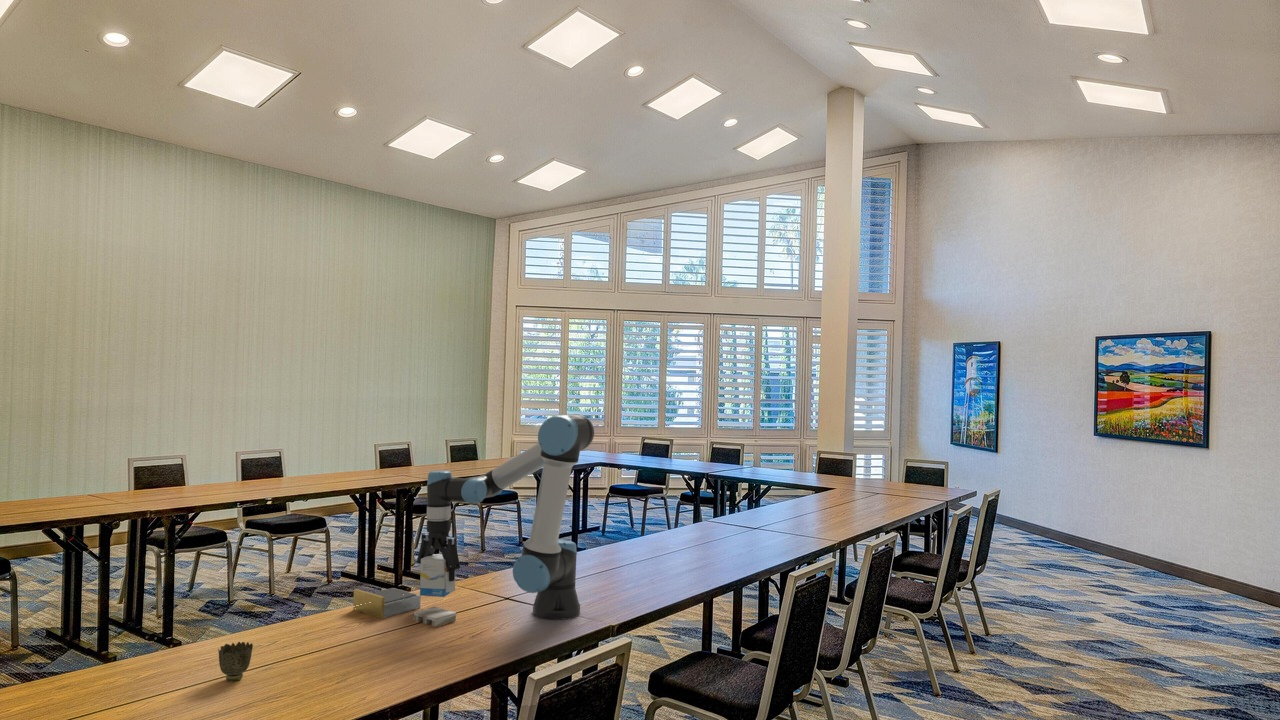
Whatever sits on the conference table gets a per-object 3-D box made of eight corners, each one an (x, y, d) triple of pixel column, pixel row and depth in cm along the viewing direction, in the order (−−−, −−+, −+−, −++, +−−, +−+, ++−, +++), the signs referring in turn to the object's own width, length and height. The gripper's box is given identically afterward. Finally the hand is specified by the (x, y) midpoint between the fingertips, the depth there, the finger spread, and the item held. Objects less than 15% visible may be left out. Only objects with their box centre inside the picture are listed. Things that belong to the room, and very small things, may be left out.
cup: (225, 673, 190) (226, 641, 190) (256, 673, 191) (257, 641, 191) (211, 685, 183) (212, 651, 183) (243, 685, 183) (245, 651, 184)
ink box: (443, 597, 243) (444, 559, 243) (419, 595, 245) (419, 558, 245) (456, 590, 251) (456, 554, 252) (432, 589, 253) (432, 553, 254)
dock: (420, 607, 249) (421, 587, 250) (381, 618, 237) (381, 597, 237) (392, 599, 257) (393, 580, 257) (353, 610, 245) (353, 589, 245)
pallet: (456, 620, 237) (456, 612, 237) (435, 627, 230) (436, 618, 230) (434, 614, 243) (434, 606, 243) (413, 620, 236) (413, 612, 236)
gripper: (472, 521, 246) (471, 591, 245) (424, 514, 259) (423, 581, 258) (454, 524, 240) (453, 596, 239) (406, 517, 252) (405, 585, 252)
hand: (437, 588), depth 248 cm, fingers closed on ink box, 10 cm apart
